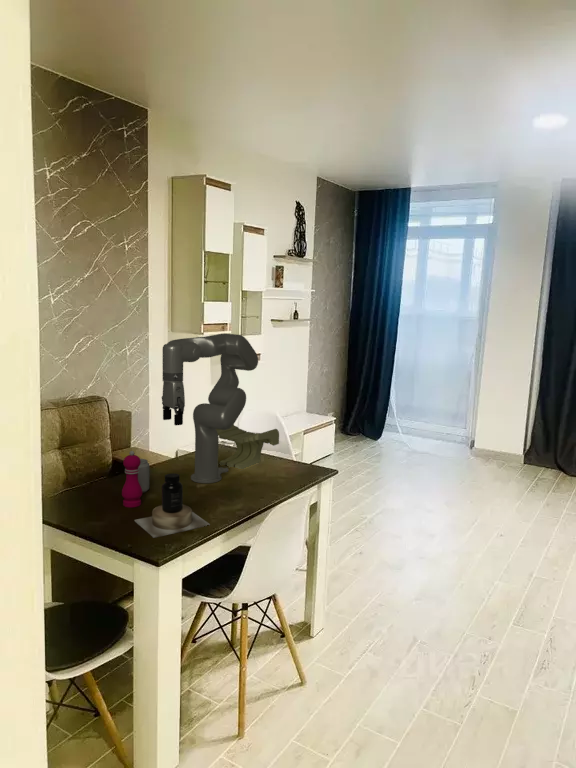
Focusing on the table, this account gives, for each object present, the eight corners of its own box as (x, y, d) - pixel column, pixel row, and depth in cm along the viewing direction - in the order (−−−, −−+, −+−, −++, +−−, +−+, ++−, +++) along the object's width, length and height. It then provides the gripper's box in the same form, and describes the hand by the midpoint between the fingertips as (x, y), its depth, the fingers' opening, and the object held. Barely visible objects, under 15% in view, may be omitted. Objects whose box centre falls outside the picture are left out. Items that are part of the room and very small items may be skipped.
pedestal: (188, 510, 214) (188, 497, 213) (209, 525, 201) (210, 512, 200) (134, 521, 202) (134, 508, 201) (153, 537, 189) (153, 524, 189)
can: (125, 491, 230) (125, 461, 228) (138, 486, 237) (138, 456, 235) (140, 495, 227) (140, 464, 225) (153, 489, 234) (153, 459, 232)
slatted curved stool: (278, 465, 271) (279, 427, 268) (257, 474, 258) (258, 433, 255) (226, 453, 287) (227, 417, 284) (204, 461, 274) (204, 423, 271)
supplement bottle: (184, 506, 204) (184, 472, 202) (180, 514, 198) (180, 479, 196) (164, 505, 204) (164, 471, 203) (159, 513, 198) (159, 478, 196)
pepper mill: (144, 506, 216) (144, 452, 212) (124, 509, 212) (124, 454, 209) (139, 499, 222) (139, 447, 219) (119, 502, 218) (119, 449, 215)
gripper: (192, 379, 217) (192, 426, 220) (172, 373, 231) (172, 416, 234) (173, 381, 213) (173, 428, 216) (153, 374, 226) (153, 418, 229)
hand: (172, 422), depth 225 cm, fingers open, 9 cm apart
